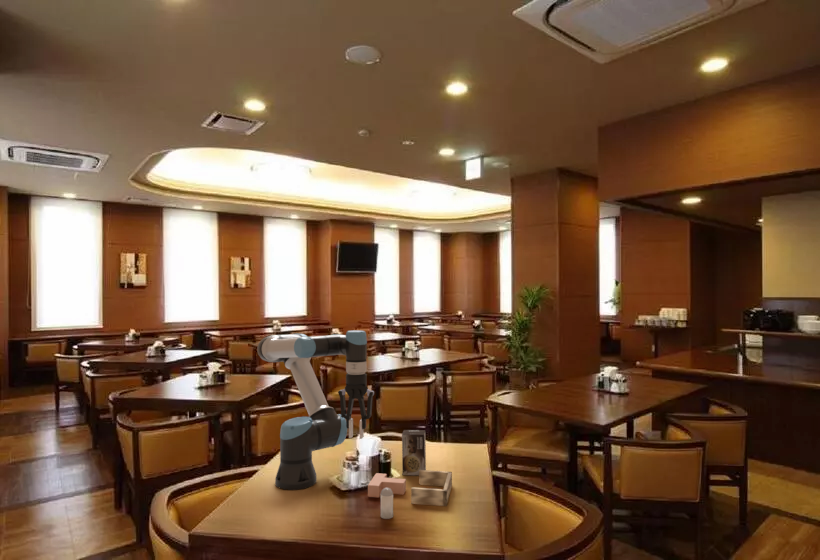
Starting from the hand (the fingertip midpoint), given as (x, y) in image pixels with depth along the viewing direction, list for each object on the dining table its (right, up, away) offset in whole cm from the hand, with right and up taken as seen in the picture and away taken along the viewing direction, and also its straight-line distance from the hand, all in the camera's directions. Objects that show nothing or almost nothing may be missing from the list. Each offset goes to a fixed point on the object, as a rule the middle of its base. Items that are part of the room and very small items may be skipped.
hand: (356, 437), depth 183 cm
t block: (+12, -19, -3) cm, 22 cm away
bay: (+28, -18, -5) cm, 34 cm away
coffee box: (+21, -19, +16) cm, 33 cm away
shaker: (+12, -18, -23) cm, 32 cm away
